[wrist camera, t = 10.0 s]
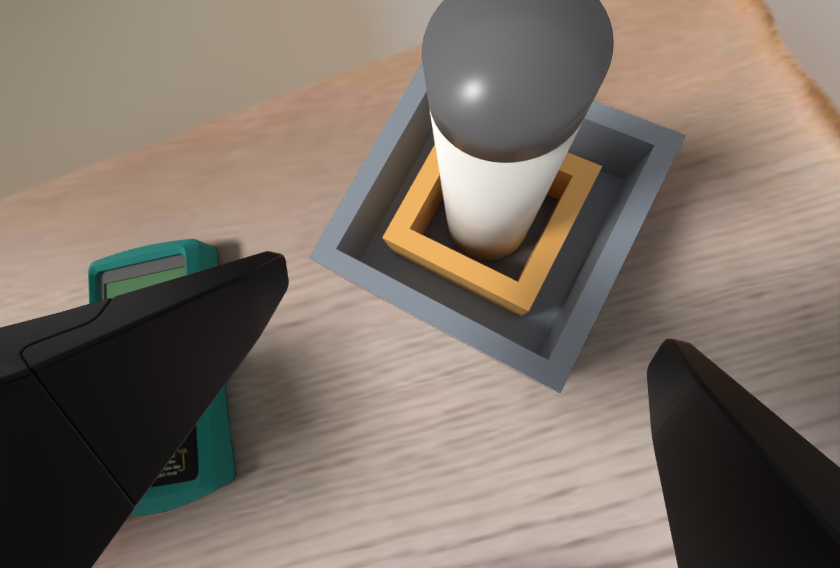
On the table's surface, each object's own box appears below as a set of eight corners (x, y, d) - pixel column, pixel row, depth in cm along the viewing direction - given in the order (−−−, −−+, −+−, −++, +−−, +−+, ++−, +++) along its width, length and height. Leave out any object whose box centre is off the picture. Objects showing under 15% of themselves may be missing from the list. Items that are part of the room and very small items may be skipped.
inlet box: (540, 384, 20) (560, 393, 16) (339, 276, 23) (308, 257, 18) (641, 179, 22) (685, 135, 17) (440, 98, 24) (434, 41, 20)
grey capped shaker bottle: (531, 258, 20) (626, 118, 8) (450, 263, 21) (425, 140, 9) (524, 182, 21) (600, -48, 9) (446, 189, 22) (418, -19, 10)
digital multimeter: (127, 507, 22) (77, 530, 19) (120, 267, 25) (76, 256, 22) (243, 487, 22) (209, 508, 19) (223, 244, 25) (191, 230, 22)
